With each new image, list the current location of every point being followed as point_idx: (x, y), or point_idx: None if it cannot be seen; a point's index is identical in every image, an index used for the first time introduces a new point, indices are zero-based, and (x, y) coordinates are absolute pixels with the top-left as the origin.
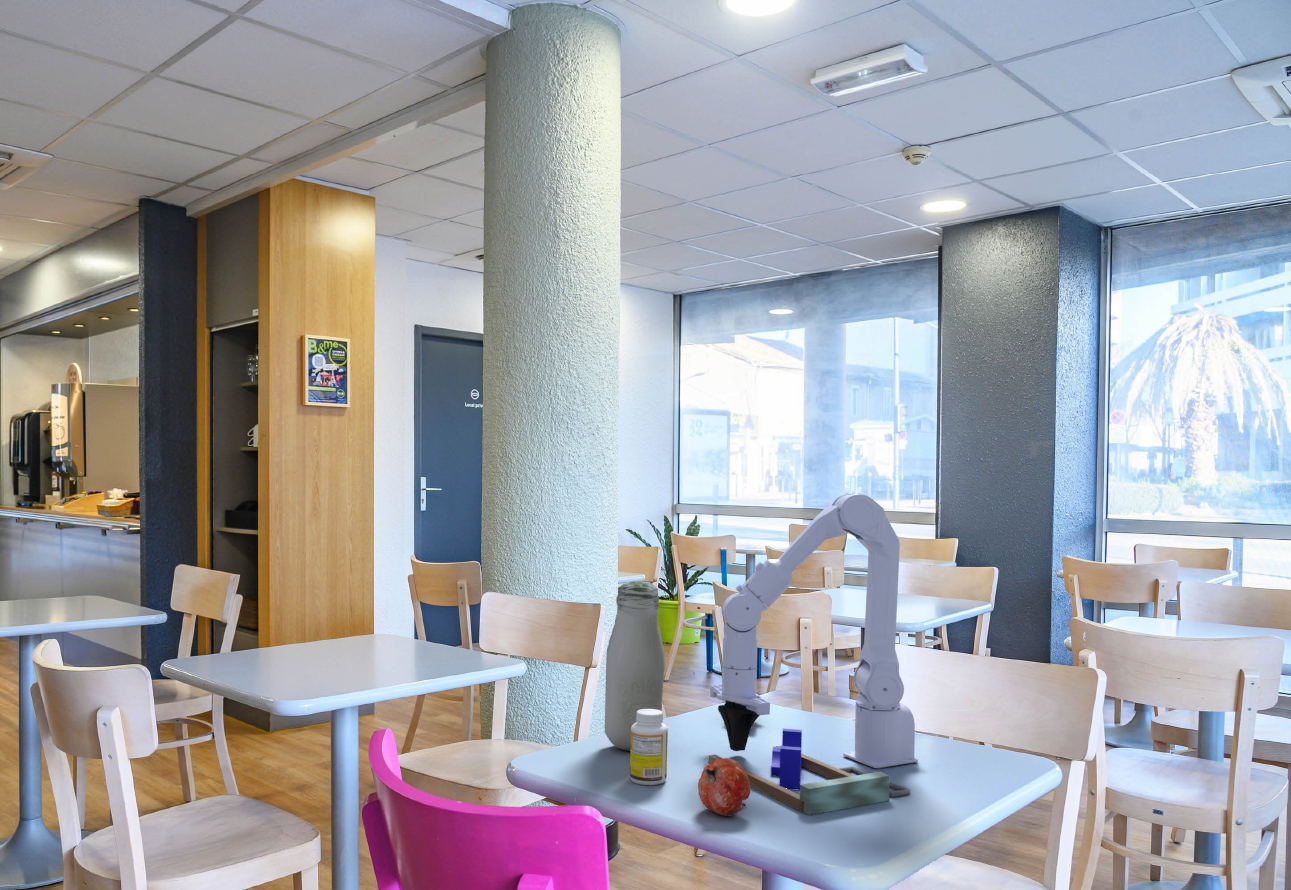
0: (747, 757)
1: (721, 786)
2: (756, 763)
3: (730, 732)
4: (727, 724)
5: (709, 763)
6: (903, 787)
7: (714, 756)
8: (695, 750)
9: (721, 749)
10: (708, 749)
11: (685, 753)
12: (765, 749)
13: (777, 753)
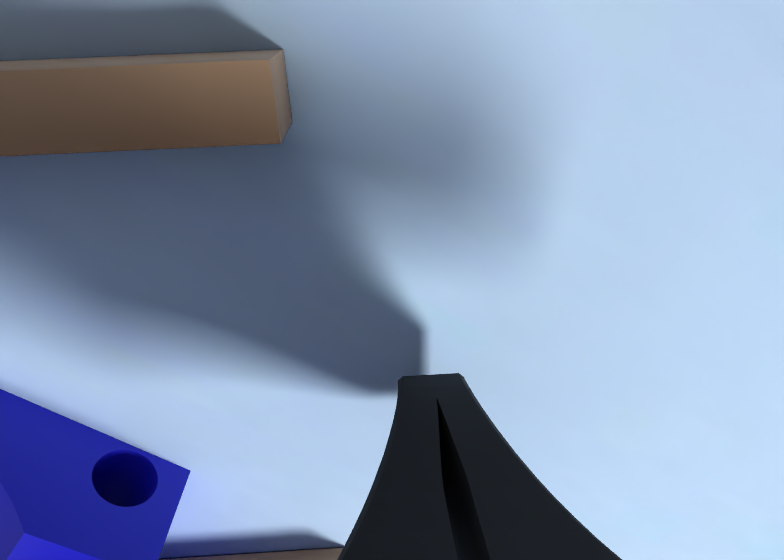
0: (368, 413)
1: None
2: (226, 402)
3: (460, 468)
4: (503, 521)
5: (262, 52)
6: None
7: (214, 101)
8: (704, 173)
9: (605, 357)
10: (660, 279)
11: (693, 35)
12: None
13: (5, 537)
